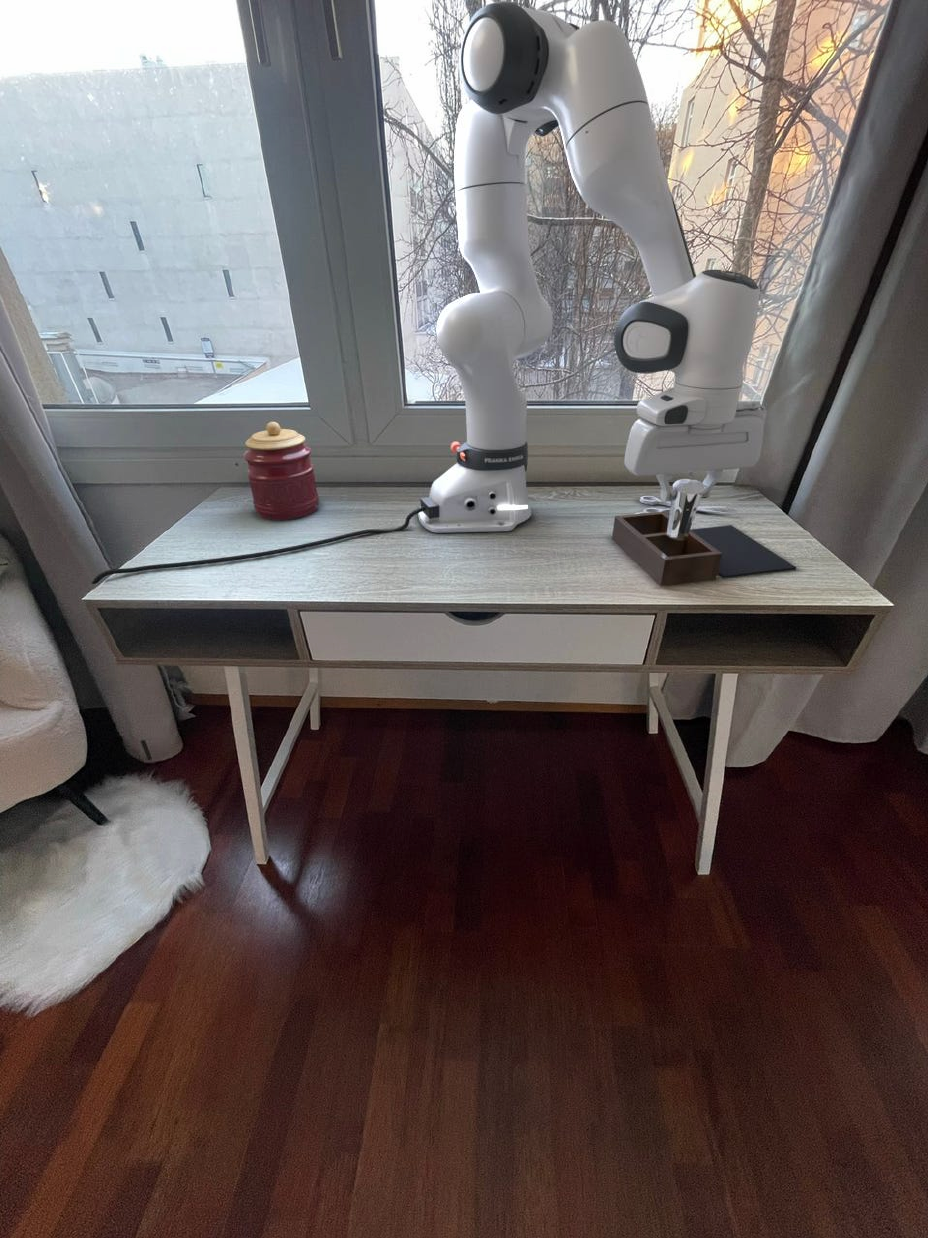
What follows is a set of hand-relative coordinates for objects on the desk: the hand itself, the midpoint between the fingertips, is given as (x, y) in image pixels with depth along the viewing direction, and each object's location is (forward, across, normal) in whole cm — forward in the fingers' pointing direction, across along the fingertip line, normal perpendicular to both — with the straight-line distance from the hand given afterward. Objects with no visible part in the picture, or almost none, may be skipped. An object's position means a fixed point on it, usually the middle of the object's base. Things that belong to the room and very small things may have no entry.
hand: (684, 498), depth 90 cm
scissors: (+12, -15, -22) cm, 30 cm away
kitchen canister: (+13, +63, -43) cm, 77 cm away
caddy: (+12, 0, -4) cm, 13 cm away
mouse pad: (+12, -13, -4) cm, 18 cm away
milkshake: (+6, 0, 0) cm, 6 cm away
